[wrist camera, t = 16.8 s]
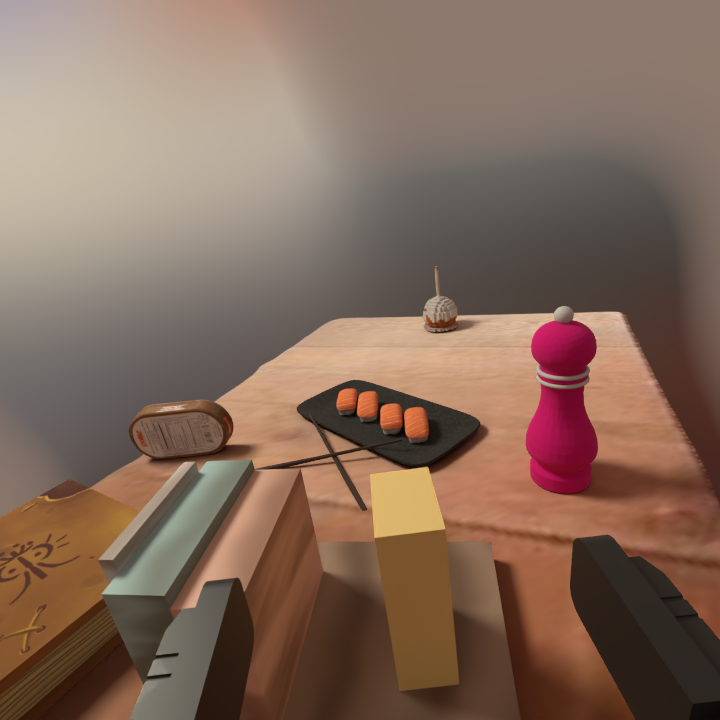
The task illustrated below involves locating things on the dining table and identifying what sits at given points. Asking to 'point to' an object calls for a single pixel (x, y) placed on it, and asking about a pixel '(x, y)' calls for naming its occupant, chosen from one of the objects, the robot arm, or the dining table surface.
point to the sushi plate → (385, 425)
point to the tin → (181, 429)
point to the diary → (54, 595)
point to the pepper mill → (562, 406)
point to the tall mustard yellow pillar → (415, 578)
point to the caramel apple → (439, 311)
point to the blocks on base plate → (299, 601)
